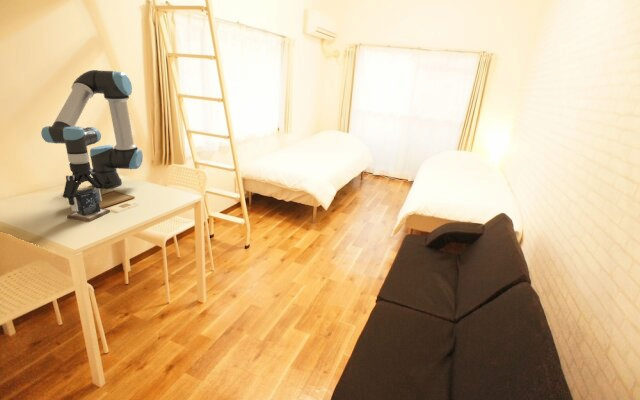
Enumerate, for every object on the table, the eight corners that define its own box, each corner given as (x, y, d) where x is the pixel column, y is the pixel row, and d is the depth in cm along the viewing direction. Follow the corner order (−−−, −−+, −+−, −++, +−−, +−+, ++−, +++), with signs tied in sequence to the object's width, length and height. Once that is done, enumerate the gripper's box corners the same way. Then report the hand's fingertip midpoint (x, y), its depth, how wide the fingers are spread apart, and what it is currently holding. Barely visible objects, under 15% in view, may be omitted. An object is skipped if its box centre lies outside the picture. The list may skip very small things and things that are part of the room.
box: (83, 216, 154) (79, 194, 150) (76, 213, 156) (72, 192, 153) (101, 211, 160) (97, 190, 157) (94, 208, 163) (90, 188, 159)
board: (88, 208, 165) (88, 206, 165) (110, 211, 163) (109, 209, 163) (67, 218, 154) (66, 215, 153) (90, 221, 152) (89, 218, 152)
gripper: (94, 155, 162) (101, 196, 169) (46, 167, 139) (56, 214, 146) (107, 157, 161) (114, 198, 168) (61, 169, 137) (71, 216, 145)
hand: (87, 205), depth 157 cm, fingers open, 13 cm apart
